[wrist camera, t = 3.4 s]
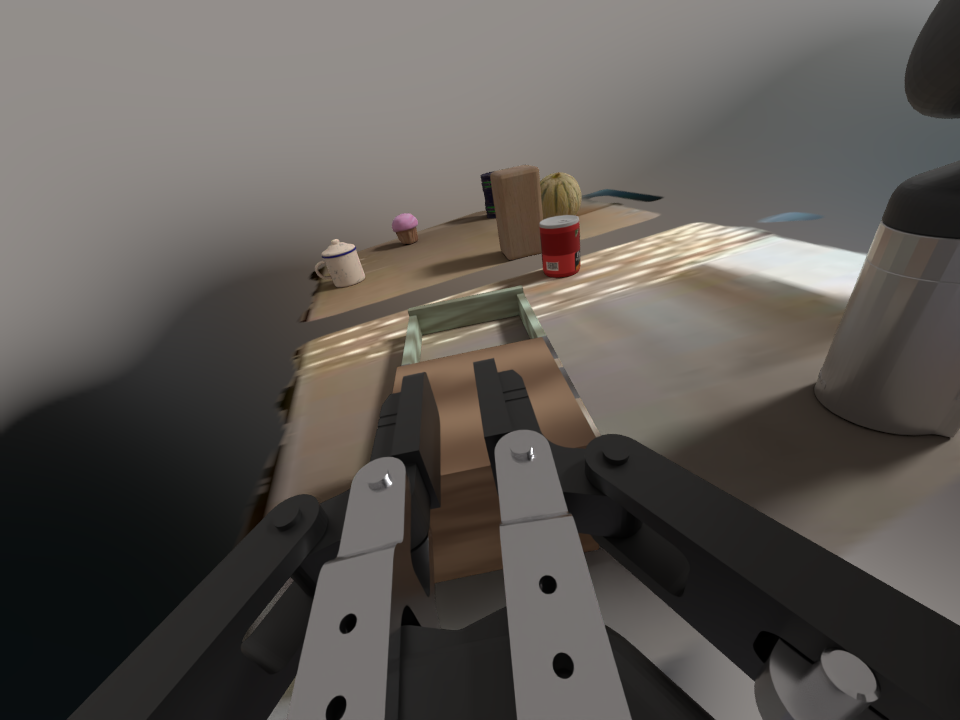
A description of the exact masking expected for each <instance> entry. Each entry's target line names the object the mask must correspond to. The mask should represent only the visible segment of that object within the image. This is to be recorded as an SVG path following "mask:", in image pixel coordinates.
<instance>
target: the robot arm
mask: <svg viewBox="0 0 960 720" xmlns="http://www.w3.org/2000/svg"><path fill="white" fill-rule="evenodd" d="M905 92H906V96H907V99H908V101H909V103H910V104H911V106H912V107H913V108H914V109H915V110H917V111H918V112H919V113H921V114H922V115H926V116H930V117H935V118H944V119H946V118H947V119H950V118H951V119H953V118H960V0H940V1H939V2H938V4H937V5H936V7H935V8H934V10H933V12H932V13H931V15H930V16H929V18H928V20H927V22H926V23H925V25H924V27H923V29H922V31H921V32H920V34H919V36H918V38H917V40H916V43H915V45H914V47H913V50H912V52H911V55H910V57H909V60H908V64H907V68H906V73H905ZM473 367H474V374H475V380H476V387H477V394H478V400H479V407H480V414H481V420H482V427H483V434H484V439H485V443H486V448H487V452H488V456H489V460H490V465H491V469H492V473H493V477H494V481H495V486H496V490H497V494H498V496H499V503H500V513H501V523H500V540H501V550H502V561H503V572H504V583H505V593H506V604H507V606H506V607H504V608H502V609H500V610H498V611H496V612H494V613H492V614H490V615H488V616H486V617H485V618H483V619H481V620H479V621H477V622H475V623H473V624H471V625H469V626H467V627H465V628H463V629H461V630H445V629H441V628H440V622H439V618H438V614H437V609H436V601H435V581H434V558H433V534H432V529H431V527H430V509H435V508H440V507H441V436H440V417H439V412H438V408H437V404H436V401H435V398H434V395H433V392H432V388H431V385H430V382H429V379H428V376H427V374H426V372H422V373H417V374H412V375H407V376H403V379H402V386H401V392H398V393H393V394H390V395H389V397H388V398H387V399H386V401H385V402H384V403H383V405H382V408H381V413H380V419H379V422H378V429H377V431H376V436H375V441H374V445H373V450H372V455H371V459H370V462H369V463H368V464H366V465H365V466H364V467H362V468H361V469H360V470H359V471H358V473H357V474H356V475H355V477H354V479H353V481H352V484H351V488H350V489H349V490H347V491H345V492H344V493H342V494H340V495H337V496H335V497H333V498H331V499H329V500H327V501H325V502H323V503H320V504H319V502H318V501H317V499H316V498H315V497H313V496H312V495H307V494H302V495H297V496H293V497H291V498H289V499H287V500H285V501H283V502H281V503H280V504H279V505H277V506H276V507H275V508H274V509H273V510H271V511H270V512H269V513H268V514H267V515H266V516H265V517H264V519H263V520H262V521H261V522H260V523H259V524H258V525H257V526H256V527H255V528H254V529H253V530H252V531H251V532H250V533H249V534H248V535H247V536H246V537H245V538H244V539H243V540H242V541H241V542H240V543H239V544H238V545H237V546H236V547H235V548H234V549H233V550H232V551H231V552H230V553H229V554H228V555H227V556H226V558H224V559H223V561H221V563H219V565H218V566H217V567H216V568H215V569H214V570H213V571H212V572H211V573H210V574H209V575H208V576H207V577H206V578H205V579H204V580H203V581H202V582H201V583H200V584H199V585H198V586H197V587H196V588H195V589H194V590H193V591H192V592H191V593H190V594H189V595H188V596H187V597H186V598H185V599H184V600H183V601H182V602H181V603H180V604H179V605H178V607H176V609H175V610H174V611H173V612H172V613H171V614H170V615H169V616H168V617H167V618H166V619H165V620H164V621H163V622H162V623H161V624H160V625H159V626H158V627H157V628H156V629H155V630H154V631H153V632H152V633H151V634H150V635H149V636H148V637H147V638H146V639H145V640H144V641H143V642H142V643H141V644H140V645H139V646H138V647H137V648H136V650H135V651H133V652H132V653H131V655H129V657H128V658H127V659H126V660H125V661H124V662H123V663H122V664H121V665H120V666H119V667H118V668H117V669H116V670H115V671H114V672H113V673H112V674H111V675H110V676H109V677H108V678H107V679H106V680H105V681H104V682H103V683H102V684H101V685H100V686H99V687H98V688H97V689H96V690H95V691H94V692H93V693H92V694H91V695H90V696H89V697H88V698H87V700H86V701H84V703H83V704H82V705H81V706H80V707H79V708H78V709H77V710H76V711H75V712H74V713H73V714H72V715H71V716H70V717H69V718H68V719H67V720H267V719H268V717H269V716H270V714H271V712H272V711H273V709H274V708H275V706H276V705H277V703H278V702H279V700H280V699H281V697H282V696H283V694H284V693H285V691H286V690H287V688H288V687H289V685H290V684H291V682H292V681H293V679H294V678H295V676H296V680H295V684H294V689H293V693H292V698H291V702H290V707H289V711H288V716H287V720H715V719H714V718H713V717H712V716H711V715H710V714H709V713H707V712H706V711H705V710H704V709H703V708H702V707H701V706H700V705H699V704H698V703H696V702H695V701H694V700H693V699H692V698H691V697H690V696H689V695H688V694H686V693H685V692H684V691H683V690H682V689H681V688H680V687H679V686H677V685H676V684H675V683H674V682H673V681H672V680H671V679H670V678H669V677H667V676H666V675H665V674H664V673H663V672H662V671H661V670H660V669H659V668H658V667H656V666H655V665H654V664H653V663H652V662H651V661H650V660H649V659H648V658H647V657H645V656H644V655H643V654H642V653H641V652H640V651H639V650H638V649H637V648H635V647H634V646H633V645H632V644H631V643H630V642H629V641H627V640H626V639H625V638H624V637H623V636H621V635H620V634H618V633H617V632H615V631H614V630H613V629H611V628H610V627H608V626H606V625H604V622H603V618H602V615H601V611H600V608H599V604H598V601H597V597H596V594H595V590H594V587H593V583H592V580H591V576H590V573H589V570H588V566H587V563H586V559H585V556H584V552H583V549H582V545H581V542H580V538H579V535H578V533H582V534H589V535H591V537H592V538H593V539H594V540H595V541H596V542H597V543H598V544H599V545H600V546H601V547H602V548H604V549H605V550H606V551H607V552H608V553H609V554H610V555H612V556H613V557H614V558H615V559H616V560H617V561H618V562H619V563H621V564H622V565H623V566H624V567H625V568H626V569H627V570H629V571H630V572H631V573H632V574H633V575H634V576H635V577H637V578H638V579H639V580H640V581H641V582H642V583H643V584H644V585H646V586H647V587H648V588H649V589H650V590H651V591H652V592H654V593H655V594H656V595H657V596H658V597H659V598H660V599H662V600H663V601H664V602H665V603H666V604H667V605H668V606H669V607H671V608H672V609H673V610H674V611H675V612H676V613H677V614H679V615H680V616H681V617H682V618H683V619H684V620H685V621H687V622H688V623H689V624H690V625H691V626H692V627H693V628H694V629H696V630H697V631H698V632H699V633H700V634H701V635H702V636H704V637H705V638H706V639H707V640H708V641H709V642H710V643H712V644H713V645H714V646H715V647H716V648H717V649H718V650H720V651H721V652H722V653H723V654H724V655H725V656H726V657H728V658H729V659H730V660H731V661H732V662H733V663H734V664H735V665H737V666H738V667H739V668H740V669H741V670H742V671H744V673H746V674H747V675H748V676H749V677H750V678H751V679H752V680H754V681H755V685H754V687H755V688H754V689H755V699H756V703H757V706H758V710H759V712H760V714H761V717H762V719H763V720H960V626H959V625H957V624H956V623H954V622H952V621H951V620H949V619H947V618H945V617H943V616H942V615H940V614H938V613H937V612H935V611H933V610H931V609H930V608H928V607H926V606H924V605H922V604H921V603H919V602H917V601H915V600H914V599H912V598H910V597H908V596H906V595H905V594H903V593H901V592H900V591H898V590H896V589H894V588H893V587H891V586H889V585H887V584H886V583H884V582H882V581H880V580H879V579H877V578H875V577H873V576H872V575H870V574H868V573H866V572H865V571H863V570H861V569H859V568H858V567H856V566H854V565H852V564H851V563H849V562H847V561H845V560H844V559H842V558H840V557H838V556H837V555H835V554H833V553H831V552H830V551H828V550H826V549H824V548H823V547H821V546H819V545H817V544H816V543H814V542H812V541H810V540H809V539H807V538H805V537H803V536H802V535H800V534H798V533H796V532H795V531H793V530H791V529H789V528H788V527H786V526H784V525H782V524H781V523H779V522H777V521H775V520H774V519H772V518H770V517H768V516H767V515H765V514H763V513H761V512H760V511H758V510H756V509H754V508H753V507H751V506H749V505H747V504H746V503H744V502H742V501H740V500H739V499H737V498H735V497H733V496H732V495H730V494H728V493H726V492H725V491H723V490H721V489H719V488H718V487H716V486H714V485H712V484H711V483H709V482H707V481H705V480H704V479H702V478H700V477H698V476H697V475H695V474H693V473H691V472H690V471H688V470H686V469H684V468H683V467H681V466H679V465H677V464H676V463H674V462H672V461H670V460H669V459H667V458H665V457H663V456H662V455H660V454H658V453H656V452H655V451H653V450H651V449H649V448H647V447H646V446H644V445H642V444H640V443H639V442H637V441H635V440H633V439H631V438H629V437H626V436H623V435H617V434H607V435H602V436H599V437H596V438H594V439H593V440H592V441H590V442H589V443H588V445H587V446H586V449H583V448H569V447H563V446H559V445H556V444H554V443H552V442H550V441H549V440H548V439H547V438H545V437H544V435H543V434H542V432H541V430H540V427H539V424H538V422H537V419H536V416H535V413H534V410H533V407H532V404H531V401H530V398H529V396H528V393H527V390H526V387H525V384H524V381H523V378H522V377H521V376H520V375H519V374H518V373H517V372H515V371H514V370H513V369H512V370H507V371H502V372H497V368H496V364H495V360H494V358H491V359H486V360H481V361H476V362H473ZM814 391H815V395H816V397H817V399H818V400H819V401H820V402H821V403H822V404H823V405H824V406H825V407H826V408H827V409H829V410H830V411H831V412H833V413H835V414H836V415H838V416H840V417H842V418H844V419H846V420H848V421H851V422H853V423H855V424H858V425H861V426H864V427H867V428H870V429H874V430H878V431H882V432H887V433H894V434H900V435H925V434H937V435H942V436H947V437H954V435H955V434H956V433H957V431H958V430H959V429H960V161H957V162H954V163H951V164H948V165H945V166H942V167H939V168H936V169H933V170H930V171H927V172H924V173H921V174H918V175H916V176H914V177H911V178H909V179H907V180H906V181H904V182H903V183H901V184H900V185H899V186H898V187H897V188H896V190H895V191H894V192H893V194H892V196H891V198H890V200H889V202H888V204H887V207H886V210H885V212H884V215H883V217H882V220H881V222H880V224H879V227H878V230H877V232H876V234H875V237H874V239H873V242H872V244H871V247H870V249H869V252H868V254H867V257H866V259H865V262H864V264H863V267H862V269H861V272H860V274H859V277H858V279H857V282H856V284H855V287H854V289H853V292H852V294H851V297H850V299H849V302H848V304H847V307H846V309H845V312H844V314H843V317H842V319H841V322H840V324H839V327H838V329H837V332H836V334H835V337H834V339H833V342H832V344H831V347H830V349H829V352H828V354H827V357H826V359H825V362H824V364H823V367H822V368H821V370H820V373H819V376H818V380H817V382H816V385H815V387H814ZM290 577H291V578H292V579H293V580H294V581H293V583H292V584H291V585H290V586H289V588H288V589H287V590H286V591H285V593H284V594H283V595H282V596H281V598H280V599H279V600H278V601H277V603H276V604H275V605H274V607H273V608H272V609H271V610H270V612H269V613H268V614H267V615H266V617H265V618H264V619H263V620H262V622H261V623H260V624H259V625H258V627H257V628H256V629H255V630H254V632H253V633H252V634H251V635H250V636H249V637H248V638H247V639H246V640H245V641H244V642H242V640H243V637H244V635H245V633H246V632H247V630H248V629H249V627H250V626H251V625H252V623H253V622H254V621H255V620H256V618H257V617H258V616H259V615H260V614H261V612H262V611H263V610H264V609H265V607H266V606H267V605H268V604H269V602H270V601H271V600H272V599H273V597H274V596H275V595H276V594H277V592H278V591H279V590H280V589H281V588H282V586H283V585H284V584H285V583H286V581H287V580H288V579H289V578H290Z"/></svg>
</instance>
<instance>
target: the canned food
mask: <svg viewBox="0 0 960 720" xmlns="http://www.w3.org/2000/svg"><path fill="white" fill-rule="evenodd" d="M539 224H540V225H539V228H540V240H541V251H542V262H543V271H544V273H545V275H546V276H549V277H554V278H561V277H568V276H571V275H574V274H576V273H577V272H578V271H579V269H580V228H579V217H578V216H574V215H562V216H555V217H550V218H547V219H544V220H542V221H541V222H540V223H539Z"/></svg>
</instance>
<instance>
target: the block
mask: <svg viewBox="0 0 960 720" xmlns="http://www.w3.org/2000/svg"><path fill="white" fill-rule="evenodd" d="M490 179H491V186H492V193H493V200H494V206H495V213H496V220H497V227H498V234H499V241H500V248H501V251H502V252H503V253H504V255H505V256H506V257H507V258H508V259H509V260H515V259H519V258H524V257H528V256H532V255H537V254H541V253H542V251H541V240H540V228H539V225H540V224H539V223H540V222H541V221H542V220H543V214H542V201H541V189H540V176H539V169H538V167H535V166H529V165H521V166H517V167H512V168H508V169H503V170H499V171H494V172H492V173H491V175H490Z"/></svg>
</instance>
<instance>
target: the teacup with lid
mask: <svg viewBox="0 0 960 720" xmlns="http://www.w3.org/2000/svg"><path fill="white" fill-rule="evenodd" d="M331 243H332V245H330V246H329V247H328V248H327V249H326V250H325V251H324V252H323V253H322V258H324V261H321V262H318V263H317V264H316V266H315V271H316V273H317V274H318V276H320V277H321V278H323V279H332V280H333V282H334V285H335V286H336V287H347V286H351V285H354V284H357V283H359V282H361V281H362V280H364V279H365V274H364V271H363V269H362V266H361V263H360V260H359V258H358V255H357V252H356V247H355V246H354V245H353V244H346V243H343V242H339V240H338V239H334V240H332V241H331ZM325 263H326V265H327V268H328V270H329V273H330V275H331V276H323V275H321V274H320V273H319V271H318V267H319V266H320V265H321V264H325Z"/></svg>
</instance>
